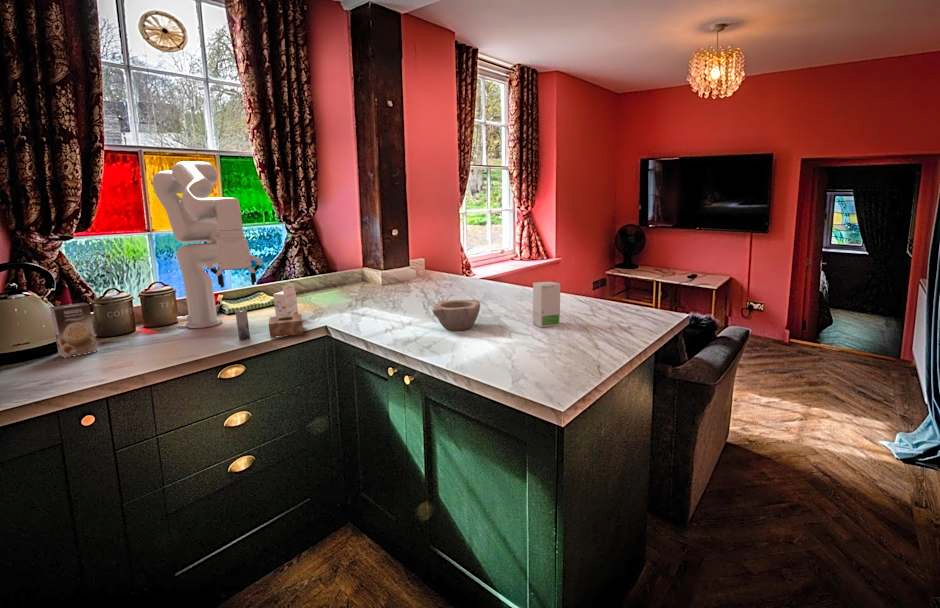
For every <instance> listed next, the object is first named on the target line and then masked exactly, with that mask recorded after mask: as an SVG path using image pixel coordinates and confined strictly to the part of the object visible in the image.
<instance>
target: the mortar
mask: <svg viewBox="0 0 940 608" xmlns="http://www.w3.org/2000/svg"><path fill="white" fill-rule="evenodd" d="M480 310H481V302H480V300H478V299H450V300H439V301H438V302H437V303H435V304H434V305H433V309H432V313H433V315H434V316H435V318H437V320H438V321H439V323H440V325H441V326H442V327H443V328H445V330H449V331H466V330H469V329H471V328H472V327H473V326H474V324H475V322H476V320H477V319H478V315H479V313H480Z"/></svg>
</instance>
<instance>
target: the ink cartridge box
mask: <svg viewBox="0 0 940 608" xmlns="http://www.w3.org/2000/svg"><path fill="white" fill-rule="evenodd" d="M295 286H296V285H295V283H294V282H291V283H288V284H285V285H283V286H282V287H281V288H282V290H281V291H278V292H276V293H273V294H272V295H273V303H274V310H275V317H276V316H286V315H297V314H299V310H298V302H297V301H298V300H297V292H296V287H295Z"/></svg>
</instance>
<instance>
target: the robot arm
mask: <svg viewBox="0 0 940 608" xmlns="http://www.w3.org/2000/svg"><path fill="white" fill-rule="evenodd" d="M218 179H219V178H218V172H217V170H216V167H215V166H214V165H213V164H212V163H210V162H208V161H207V162H206V161H188V160H187V161H179V162H176V163H175V164H174V165H173V166H172V169H171V170H162V171H159V172H156V173H155V174H154V175H153V176H152V187H153V191H154V193H155V195H156V198H157V199H158V200H159V202H160V204H161V205H162V207H163V209H164V210H165V212H166V215H167V218H168V220H169V221H168V222H169V224H170V226H171V231H172V232H173V235H174V238H175V239H176V240H177V242H179V243H184V244H185V243H186V244H185V245H182V246H180V247H179V248H178V249H177V251H176V258H177V261H178V265H179V268H180V271H181V274H182V275H181V276H182V279H183V285H184V291H185V297H186V299H185V300H186V305H187V310H188V314H187V315H185V316H183V315H182V316H177V317H176V321H177V322H178V323H184V322H186V323H185V327H186V328H189V329H203V328H204V329H205V328H209V327H214V326H218V325H220V324H222V323H223V319H222V318H219V317H218V315H217V314H218V313H217V308H216V301H215V293H214V285H213V281H212V278H211V275H209V274H208V273H207V272H206V271H205V270H204V269H207V268H208V269H209V270H210V272H212V274H214V275H215V276H216V277H217V283H218V285H219V286H220V288H224V287H225V280H224V275H223V272H224V271H231V270H243V269H244V270H245V269H247V270H248V271H250V280H251V285H252V286H255V283H257V276H256V275H257V274H256V273H257V271H258V270H259V269H260V268H261V265H262V263H263V261H264V260H263V259H262V258H260V257H257V256H255V255H252V254H251V251H250V246H249V243H248V239H247V238H245V234H244V228H243V220H242V213H241V212H242V211H241V205H240V200H239V199H238V198H236V197H209V196H210V195H211V194H212V191H213V187H214V186H215V185H216V183H217V181H218ZM178 194H182V196H179V195H178ZM187 243H189V244H187ZM252 261H255V262H256V265H255V266H254V267H253V266H252ZM216 267H218V269H216Z"/></svg>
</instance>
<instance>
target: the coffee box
mask: <svg viewBox="0 0 940 608" xmlns="http://www.w3.org/2000/svg"><path fill="white" fill-rule="evenodd" d="M49 310H50V315H51V321H52V326H53V331H55V332H54V336H55V335H56V337H55V340H57V342H56V348H57V352H58V356H59V355H60V356H59V357H61V356H62V357H64V358H63V359H67V358H66V357H69V356H73V355H78V354H84V353H88V352H94V351H98V352H99V350H98V346H97V340H96V335H95V329H94V323H93V319H92V313H91V306H90V303H89V304H88V303H86V302H78V303H71V304H64V305H57V306H56V305H55V306H50V307H49ZM94 353H95V352H94ZM84 355H85V354H84ZM62 357H61V358H62ZM69 358H70V357H69Z"/></svg>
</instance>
